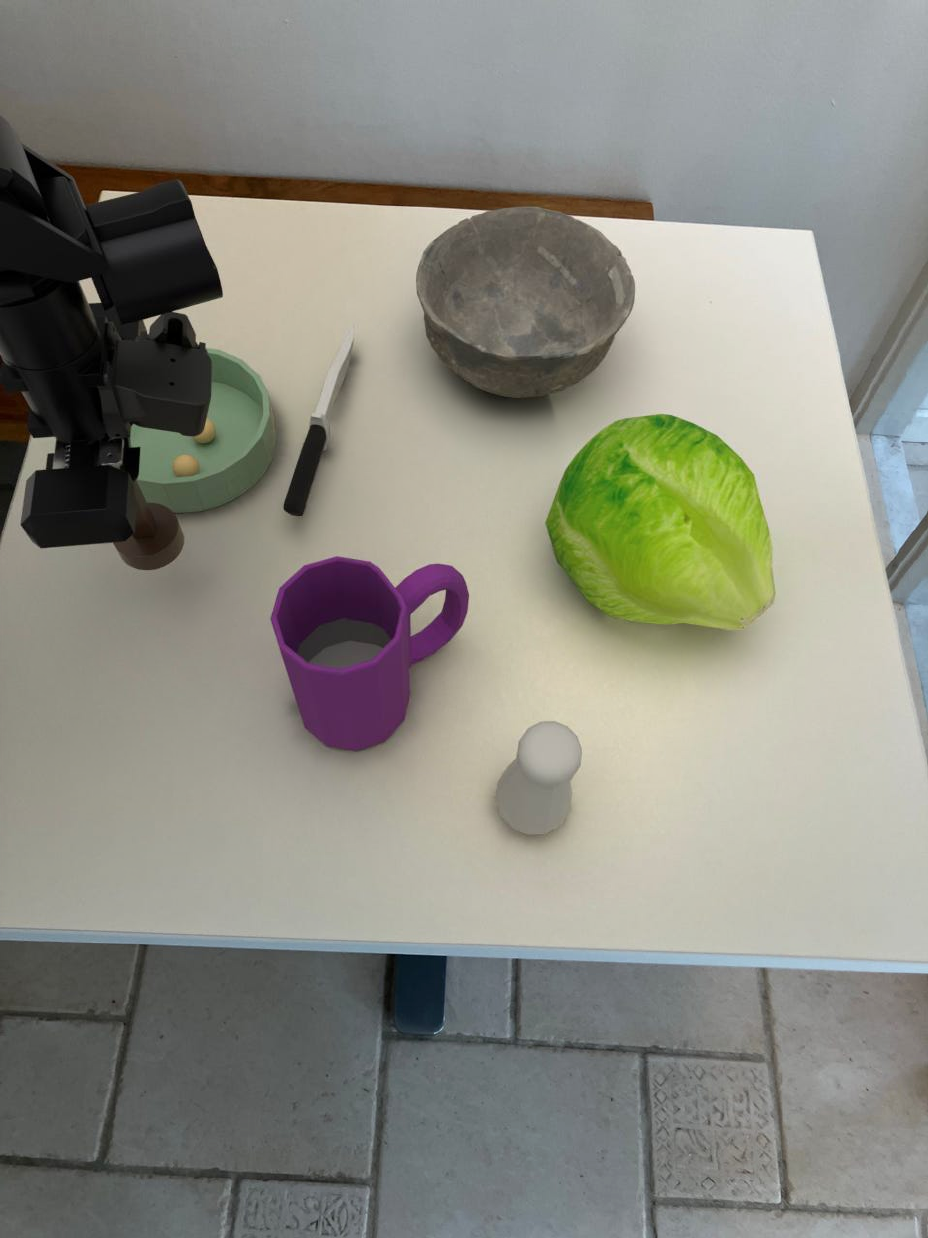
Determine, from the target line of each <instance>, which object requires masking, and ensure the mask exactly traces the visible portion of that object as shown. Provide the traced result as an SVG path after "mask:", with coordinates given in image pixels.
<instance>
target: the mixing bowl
mask: <svg viewBox="0 0 928 1238" xmlns="http://www.w3.org/2000/svg"><path fill="white" fill-rule="evenodd" d="M206 350H207V352H208V356H209V357H210V358H211V361H212V382H211V400H210V405H209V409H208V414H207V418H208V419H210V420H211V421H212V422H213V423H214V425H215V427H216V435H215V437H214V439H213V440H212V441H210V442H208V443H199V442H197V441H195V440H194V439H193V438H192V437H191V436H183V435H181V434H180V433H177V432H170V431H164V430H157V429H150V428H144V427H140V426H137V425H135V424H133V425H132V426H131V436H130V439H131V447H141V449H140V465H139V476H138V479H137V480H136V481H137V483H138V485H139V487H140V489H141V491H142V493H143V495H144V498H145V500H146V502H147V503H158V504H161V505H164V506H166V507H168V508H169V509H170V510H172V511H173V512H174V514H184V513H185V514H187V513H196V512H202V511H207V510H210V509H214V508H217V507H220V506H223V505H225V504H227V503H229V502H231V501H234V500H235V499H237V498H238V497H239V498H240V496H242V495H244V494H245V493H246V492H248V491H249V490H250V489H251V488H252V487H254V486H255V485H256V484H257V483H258V482H259V481H260V480H261V478H263V476H264V475H265V473H266V472H267V471H268V468H269V467H270V465H271V463H272V461H273V458H274V455H275V452H276V447H277V430H276V421H275V417H274V411H273V407H272V404H271V403H272V402H271V399H270V394H269V391H268V389H267V387H266V386H265V384H264V382H263V380H262V377H261V376H260V374H259V373H258V372H256V371H255V370H254V369H253V368H252V367H251V366H250V365H248V363H246V362H245V361H244V359H242V358H239V357H237V356H235V355H232V354H230V353H228V352H227V351H223V350H222V349H216V348H209V347H206ZM181 455H190V456H192V457H194V458H195V459H196V460H197V461H198V463H199V466H200V472H199V474H197V475H194V476H187V477H176V476H175V474H174V472H173V468H172V466H173V462H174V460H175V459H176V458H177V457H179V456H181Z"/></svg>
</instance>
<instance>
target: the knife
mask: <svg viewBox="0 0 928 1238" xmlns="http://www.w3.org/2000/svg"><path fill="white" fill-rule="evenodd" d="M341 341H342V342H341V344H340V345H339V349H338V351H337V353H336V355H335V358H334V359H333V361H332V363H331V364H330V366H329V369H328V372H327V375H326V377H325V381H324V384H323V387H322V389H321V393H320V395H319V399H318V400H317V401H318V402H317V405H316V408H315V411H314V412H311V415H310V418H309V425H308V426H309V428H308V431H307V434H306V436H305V439H304V442H303V445H302V448H301V450H300V453H299V456H298V459H297V462H296V464H295V467H294V470H293V474H292V477H291V480H290V484H289V487H288V491H287V493H286V495H285V498H284V502H283V506H282V509H283V511H284V512H285V513H287V514H288V515H290V516H293V517H303V516H304V514H305V511H306V507H307V504H308V501H309V500H308V499H309V496H310V492H311V490H312V487H313V483H314V480H315V477H316V474H317V471H318V467H319V464H320V461H321V458H322V455H323V452H325V451H327V448H328V445H329V443H330V435H331V429H330V425H329V422H330V417H331V415H332V412H333V409H334V406H335V403H336V400H337V398H338V396H339V393H340V390H341V389H342V385H343V383H344V380H345V377H346V374H347V372H348V370H349V369H348V368H349V365H350V361H351V356H352V351H353V347H354V341H355V322H353V323H352V324H351V326H350V327H349V329H348V330H347V332H346V333H345V334H344V336H343V338H342V340H341Z"/></svg>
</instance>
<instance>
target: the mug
mask: <svg viewBox="0 0 928 1238" xmlns="http://www.w3.org/2000/svg"><path fill="white" fill-rule="evenodd" d="M443 591H445V595H444V602H443V604H442V608H441V612H440V613H439V614H438V615H437V616H436V617H435V618H434V619H433V620H432V621H431V622H430V623H429V624H427V626H425V627H424V628H423V629H422V630H420V631H419V632H417V633H415V634H413V635H412V633H411V632H412V631H411V629H412V628H411V627H412V624H411V622H412V621H411V615H412V614H413V613H414V612H415V611H416V610H417V609H419V607H420V606H421V605H423V603H425V602H426V600H427V599H429V597H430V596H432V595H435V594H437V593H439V592H443ZM469 600H470V593H469V589H468V584H467V582H466V579H465V576H464V575H463V574H462V573H461V572H460V571H459V570H458V569H456V568H455V567H454V566H453V565H450V564H445V563H429V564H427V565H425V566H422V567H419V568H418V569H416V570H414V571H413V572H412V573H410V574H409V575H407V576H406V577H405V578H404V579H402V581H400V582H399V583H398V584H397V585H396V586H394V585H393V583H392V582H391V581H390V579H389V578H388V576H387V575H386V574H385V573H384V572H383V570H382V569H381V568H380V567H379V566H377V565H376V564H374V563H373V562H372V561H369V560H363V559H356V558H351V557H344V556H338V555H336V556H333V557H328V558H326V559H322V560H317V561H314V562H312V563H308V564H304V565H303V566H302V567H301V568H299V570H296V572H295V573H294V574H293V575H292V576H291V577H289V578H288V579H287V580H286V581H285V582H284V583H282V585H281V586H280V587H279V588H278V591H277V594H276V597H275V601H274V604H273V608H272V612H271V614H270V623H271V626H272V629H273V632H274V635H275V640H276V642H277V646H278V648H279V651H280V654H281V658H282V661H283V664H284V667H285V670H286V673H287V677H288V679H289V682H290V686H291V689H292V692H293V695H294V698H295V701H296V705H297V708H298V711H299V714H300V718H301V720H302V724H303V727H304V729H306V730H307V731H308V732H309V733H310V734H312V735H313V736H314V737H315V738H316V739H317V740H319V741H320V742H321V743H322V744H324V745H325V746H326V747H328V748H329V747H330V748H334V749H340V750H347V751H352V752H358V751H361V750H364V749H367V748H370V747H373V746H376V745H379V744H382V743H385V742H386V741H387V740H388V739H389V737H390V736H391V735H393V733H394V732H395V731H396V730H397V729H398V728H399V727H400V726H401V724H403V722H404V721H405V719H406V714H407V710H408V705H409V701H410V696H411V685H410V683H411V682H410V680H411V679H410V668H411V667H412V666H413V665H415V664H418V663H421V662H423V661H425V660H426V659H428V658H430V657H431V656H433V655H435V654H436V653H438V652H439V651H440V650H441V649H443V648H444V646H446V645H447V644H448V643H450V642H451V641H452V640H453V638H454V637H455V636H456V634H457V633H458V632H459V631H460V629H461V628H462V627H463V625H464V622H465V620H466V618H467V615H468V611H469V603H470V602H469Z"/></svg>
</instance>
